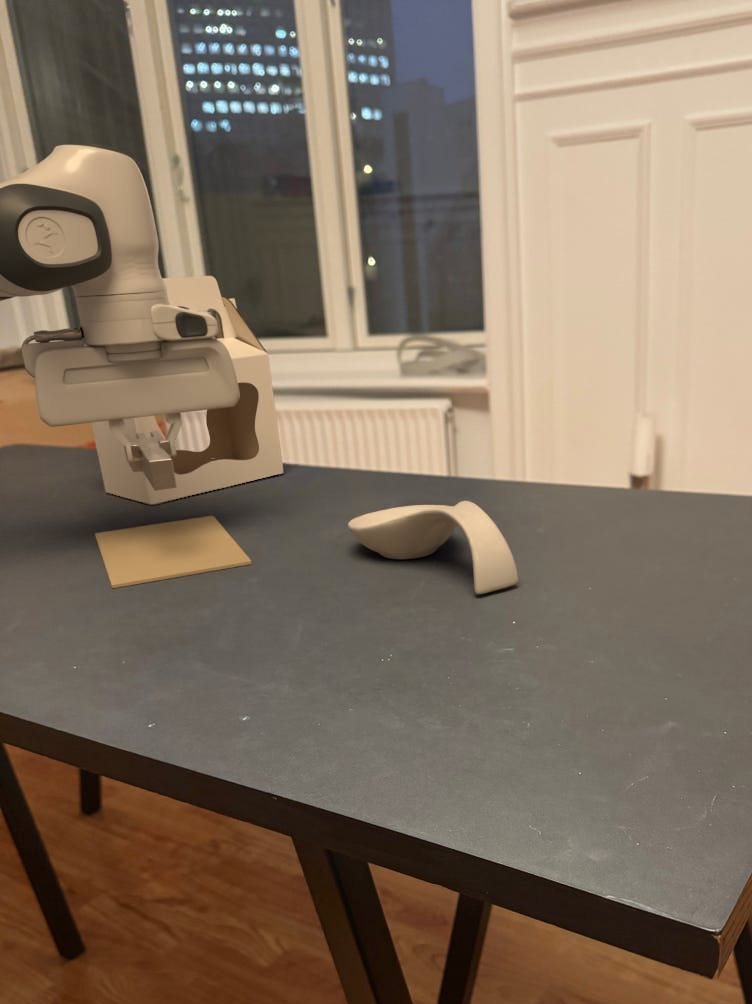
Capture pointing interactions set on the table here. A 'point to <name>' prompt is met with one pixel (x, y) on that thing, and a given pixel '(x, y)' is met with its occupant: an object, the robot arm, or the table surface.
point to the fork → (153, 461)
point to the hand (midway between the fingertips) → (152, 458)
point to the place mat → (168, 551)
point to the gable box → (233, 430)
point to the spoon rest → (440, 538)
